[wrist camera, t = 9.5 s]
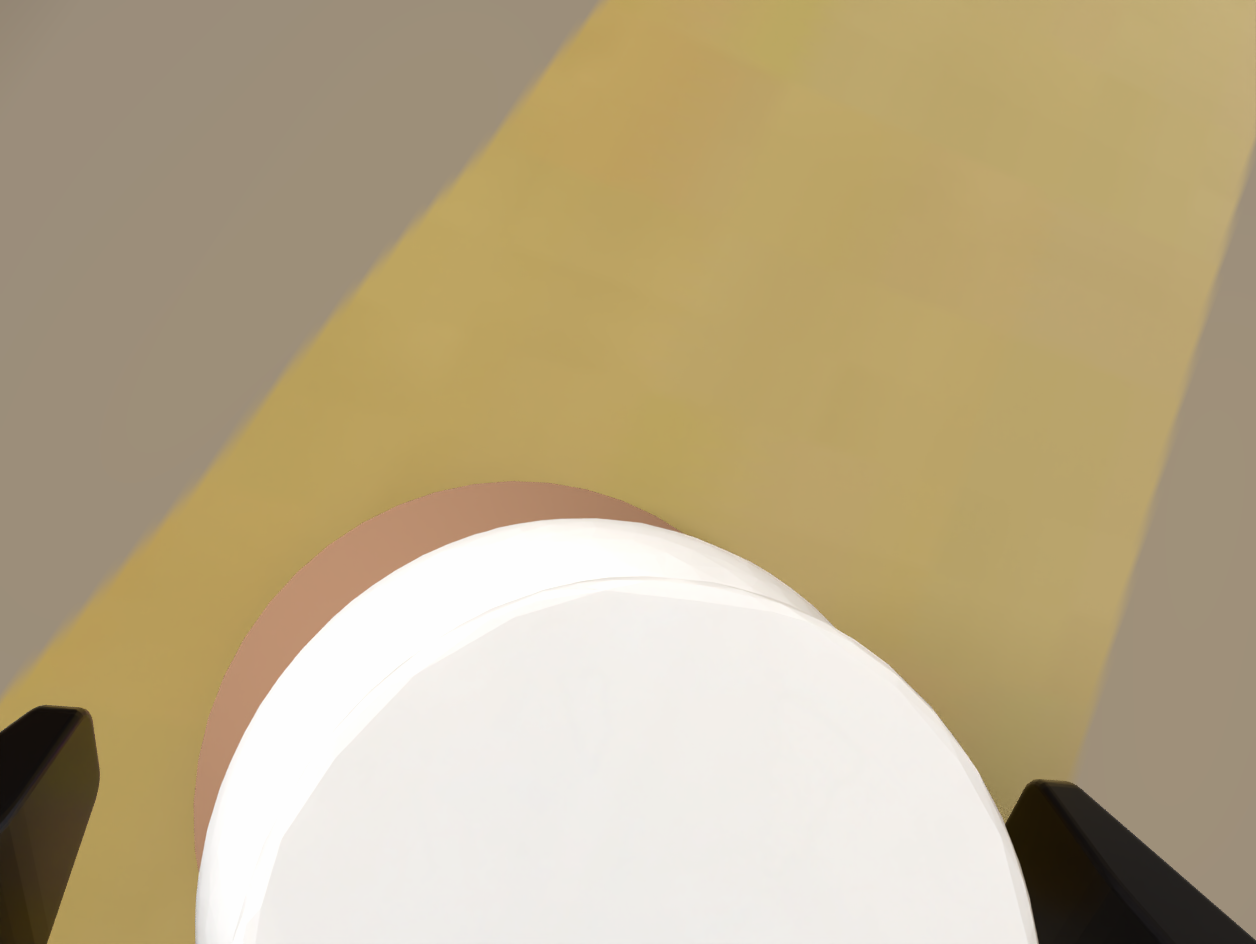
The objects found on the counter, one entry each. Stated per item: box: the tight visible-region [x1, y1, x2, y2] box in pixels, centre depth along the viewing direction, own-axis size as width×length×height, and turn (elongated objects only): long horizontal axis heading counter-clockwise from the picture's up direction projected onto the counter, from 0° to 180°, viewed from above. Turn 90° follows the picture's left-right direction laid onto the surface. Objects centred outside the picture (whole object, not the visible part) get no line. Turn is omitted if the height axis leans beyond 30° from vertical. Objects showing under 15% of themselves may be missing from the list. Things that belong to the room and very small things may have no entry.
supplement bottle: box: [195, 518, 1039, 944], centre depth 12 cm, size 7×7×13 cm
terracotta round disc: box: [194, 481, 683, 871], centre depth 18 cm, size 11×11×1 cm
